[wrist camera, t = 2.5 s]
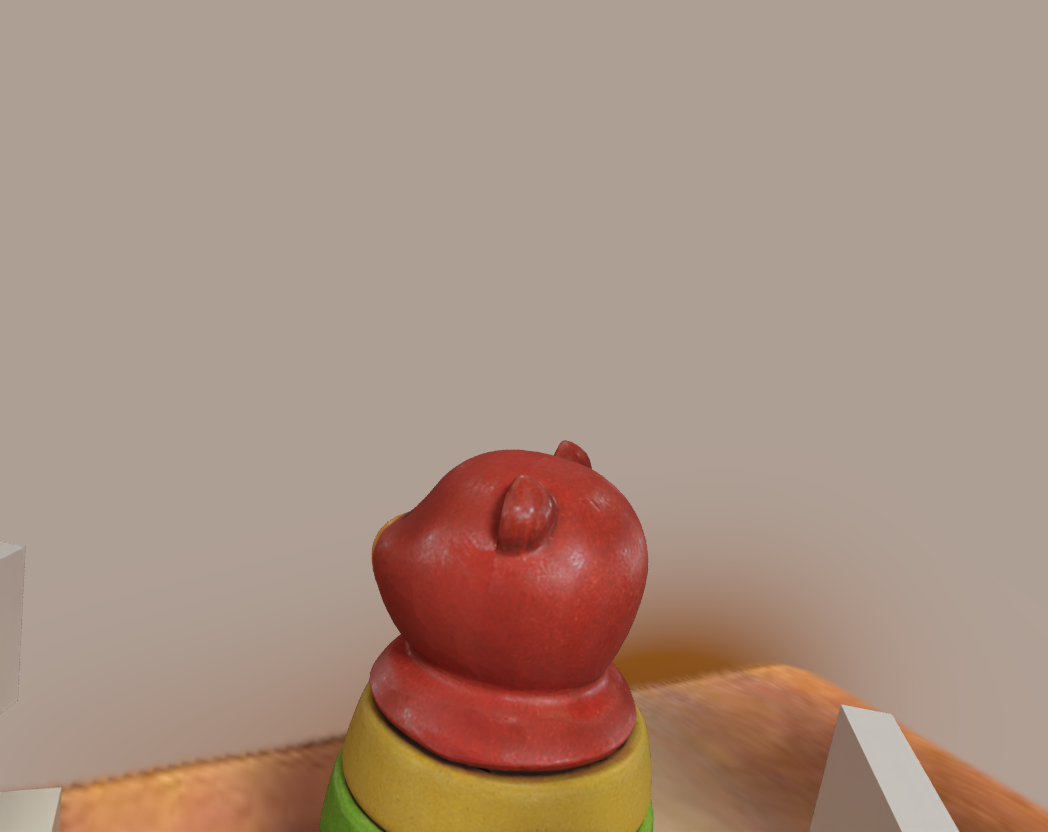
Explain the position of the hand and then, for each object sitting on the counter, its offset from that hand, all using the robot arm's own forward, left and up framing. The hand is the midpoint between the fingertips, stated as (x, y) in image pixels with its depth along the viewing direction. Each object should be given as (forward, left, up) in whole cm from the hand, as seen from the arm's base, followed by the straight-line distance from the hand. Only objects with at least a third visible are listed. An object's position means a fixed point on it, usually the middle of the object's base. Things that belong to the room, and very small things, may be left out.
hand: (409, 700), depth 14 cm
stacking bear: (-5, -9, -16) cm, 19 cm away
